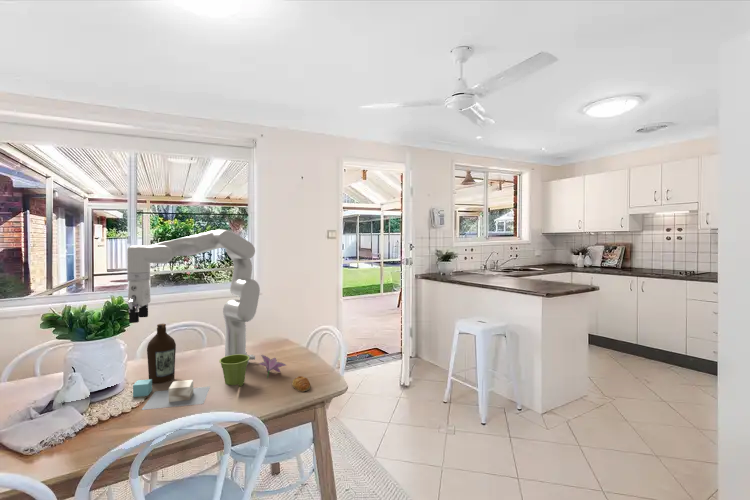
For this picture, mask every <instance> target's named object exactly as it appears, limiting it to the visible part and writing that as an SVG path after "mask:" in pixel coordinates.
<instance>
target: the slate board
mask: <svg viewBox="0 0 750 500" xmlns="http://www.w3.org/2000/svg"><path fill="white" fill-rule="evenodd" d="M210 388H211V386H200V387H193V394H192V396H191V398H190V400H184V401H174V402H169V389H168V390H167V389H166V390H155V391H154V392H153V393H152V395H151V396H150V397H149V399H148V400H147V401H146V403H145V404H144V405H143V407H142V409H141V411H143V410H144V411H145V410H153V409H154V410H155V409H156V410H157V409H165V408H174V407H175V408H177V407H185V406H187V407H188V406H196V405H197V406H198V405H204V403H205V401H206V398H207V396H208V393H209V392H210Z"/></svg>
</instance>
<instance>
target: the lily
mask: <svg viewBox="0 0 750 500" xmlns="http://www.w3.org/2000/svg"><path fill="white" fill-rule="evenodd" d="M261 358H262V360H263V361H262V362H259V363H258V365H260V366H263V367H265V369H266V372H267V377H266V379H268V378H269V374H270V372H271V371H276V372H277V373H279V372H281V370H280V368H281V367H285V366H287V364H286V363H283V362H280V361H277V357H273V358H270V357H268V356H266V355H264V354H261Z"/></svg>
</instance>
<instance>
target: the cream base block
mask: <svg viewBox="0 0 750 500" xmlns="http://www.w3.org/2000/svg"><path fill="white" fill-rule="evenodd" d="M193 388H194V379H188V380H186V379H185V380H174V381H172V383H171V384H170V386H169V387H168V390H169V402H174V401H184V400H190V398H191V396H192V394H193Z"/></svg>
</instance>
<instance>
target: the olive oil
mask: <svg viewBox="0 0 750 500" xmlns="http://www.w3.org/2000/svg"><path fill="white" fill-rule="evenodd" d="M166 326H167V324H166V323H158V324H157V325H156V327H157V328H156V334H155V335H154V336H153V337H152V338H151V339H150V340H149V342H148V344H147V346H146V355H147V368H148V379H152V384H156V385H157V384H164V383H168V382H171V381H172V380H175V374H176V373H175V372H176V371H175V370H176V368H175V367H176V349H177V347H176V346H177V345H176V341H175V339H174V338H173V337H172V336H171V335H169V334H168V333H167V327H166Z"/></svg>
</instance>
